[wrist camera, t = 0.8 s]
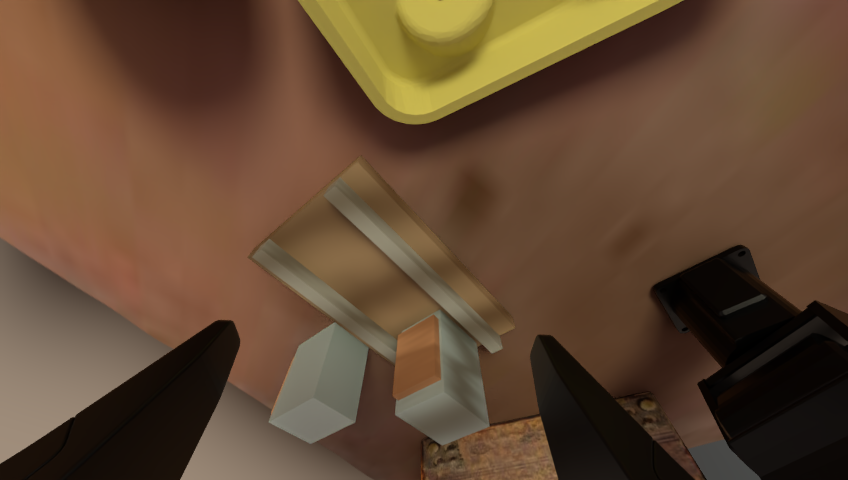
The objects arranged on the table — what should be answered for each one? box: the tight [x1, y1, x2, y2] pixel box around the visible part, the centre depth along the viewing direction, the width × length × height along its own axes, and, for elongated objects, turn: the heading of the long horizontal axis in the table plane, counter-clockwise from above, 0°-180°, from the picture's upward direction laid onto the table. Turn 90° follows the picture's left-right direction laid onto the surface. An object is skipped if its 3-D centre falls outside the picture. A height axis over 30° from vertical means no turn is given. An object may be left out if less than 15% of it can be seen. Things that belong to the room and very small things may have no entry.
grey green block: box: [269, 322, 369, 444], centre depth 27 cm, size 6×4×7 cm
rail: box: [248, 156, 515, 445], centre depth 23 cm, size 18×11×8 cm, turn 39°
